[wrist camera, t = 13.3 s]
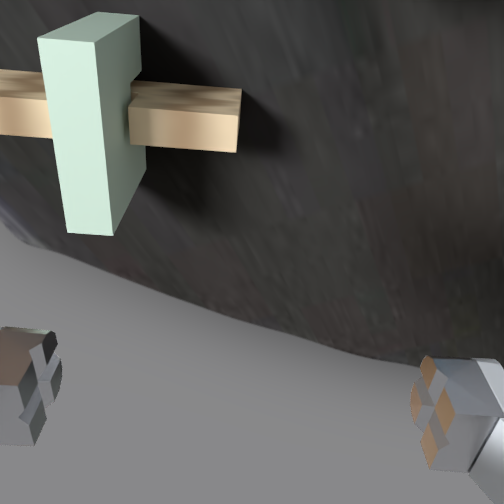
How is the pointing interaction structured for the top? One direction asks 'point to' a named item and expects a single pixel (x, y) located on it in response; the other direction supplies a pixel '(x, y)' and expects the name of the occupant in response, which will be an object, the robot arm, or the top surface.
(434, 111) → the top surface
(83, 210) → the sage plate
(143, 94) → the oak board
